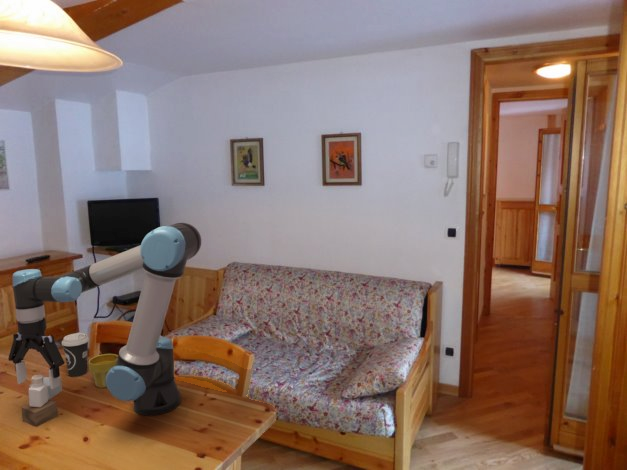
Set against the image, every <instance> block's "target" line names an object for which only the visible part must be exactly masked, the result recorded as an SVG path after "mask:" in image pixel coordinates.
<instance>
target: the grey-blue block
mask: <svg viewBox="0 0 627 470" xmlns="http://www.w3.org/2000/svg"><path fill="white" fill-rule="evenodd" d="M43 380H44V381H43V383H44V384H47V388H48V399H49V400H52V399H53V398H54V397H55V396H57V395H58V394H59V393H60V392H62V391H63V387H62V386H63V385H62V377H61V376H59V381H60V385H59V386H58V387H56V388H54V389H51V387H50V377H49V376H43ZM31 386H32V383H31V384H30V385H28V389H29V388H30V387H31Z"/></svg>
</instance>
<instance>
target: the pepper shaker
mask: <svg viewBox="0 0 627 470" xmlns="http://www.w3.org/2000/svg"><path fill="white" fill-rule="evenodd" d="M43 377H44V374H34V375H33V376H32V377H31V384H32V386H31V387H30V388H29V387H28V404H29V405H30V406H31V407H42V406H43V405H44V404H45V403H47V402H48V388H47V384H44V383H43V381H44V380H43Z"/></svg>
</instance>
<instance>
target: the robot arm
mask: <svg viewBox="0 0 627 470" xmlns="http://www.w3.org/2000/svg"><path fill="white" fill-rule="evenodd" d="M201 247H202V237H201V233H200V232H199V230H198V229H197V228H196V227H195V226H193V224H189V223H187V222H177V223H173V224H170V225H163V226H159V227H157V228H155V229H152V230H151V231H150V232H148V233H147V234H146V235H145V236H144V238H143V239H142V241H141V243H140V245H138V246H135V247H132V248H130V249H128V250H126V251H125V250H124V251H122V252H120V253H117V254H115V255H112V256H110V257H107V258H105V259H103V260H100V261H97V262H95V263H92V264H90V265H86V266H84V267H82V268H79V269H76V270H74V271H70V272H67V273H64V274H62V275H58V276H43V275H42V273H41V270H40V269H37V268H36V269H35V268H30V269H29V268H28V269H22V270H17V271H15V272H14V273H13V274H12V287H11V288H12V290H13V296H14V297H13V298H14V303H15V317H16V321H18V322H17V323H16V324H17V332H16V333H13V336H12V338H13V341H12V343H11V346H10V347H11V348H10V352H9V353H8V359H7V360H8V361H9V362H12V363H13V364H14V369H15V373H16V380H17V384H18V385H19V384H22V383H25V382H26V381H28V377H27V368H26V360H25V356H26V355H27V354H28V351H29V350H34V351H36V352H37V353H40V355H41V356H42V358H43V359H44V360H45V361H46V364H48V365H49V368H48V375H49V376H48V377H50V387H51V389H54V388H56V387H58V386H59V385H60V381H59V377H61V376H60V375H61V372H60V371H61V370H60V367H61V366H63V365H65V364H66V363H65V362H66V361H65V360H64V359H63V356H62V354H61V352H60V349H59V348H58V346H57V343H56V342H55V337H54V335H53V334H50V335H49V336H48V335H46V333H45V332H46V331H47V320H46V319H47V318H45V317H46V310H45V302H46V303H47V302H49V303H51V302H52V303H67V302H69V303H71V302H75V301H77V300H79V297H80V296H81V295H82V293H85V292H87V291H91V290H93V289H95V288H98V287H101V286H103V285H105V284H108V283H110V282H113V281H116V280H118V279H119V280H120V279H121V278H123V277H126V276H129V275H132V274H134V273H137V272H139V271H142V270H143V271H144V273H145V276H144V280H143V283H142V287H141V289H140V295H139V299H138V302H137V305H136V309H135V313H134V316H133V319H132V324H131V328H130V331H129V336H128V339H127V342H126V344H125V345H124V346H122V347H121V348H120V349H119V351H118V354H117V355H118V358H117V362H116V365H115V366H114V367H112V368H111V369H110V370H109V372H108V373H107V375H106V386H107V387H106V388H107V390H108V391H109V392H110V395H112V396H113V397H114V398H116V399H117V400H118V401H119V400H120V401H123V402H132V401H133V403H132V404H133V405H132V406H133V410H134V412H135V413H137V414H138V415H141V416H158V415H163V414H165V413H168V412H170V411H173V410H174V409H176V408H178V406H180V404H181V402H182V401H181V399H182V397H181V393H180V390H179V389H178V385H177V384H176V380H175V366H174V346H173V340H172V339H171V338H170V337H167V336H161V334H162V330H163V327H164V323H165V320H166V317H167V316H166V315H167V313H168V310H169V306H170V302H171V299H172V295H173V291H174V288H175V284H176V282H177V280H178V279H180V278H182V277H183V275H184V272H185V269H186V265H187V261H189V260H191V259H192V258H194V257H195V256H196V255H197V254H198V253H199V251H200V249H201Z"/></svg>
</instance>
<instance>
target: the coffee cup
mask: <svg viewBox="0 0 627 470" xmlns="http://www.w3.org/2000/svg"><path fill="white" fill-rule="evenodd" d="M89 341H90V339H89V336H88V335H87V333H83V332H76V333H70V334H68V335H65V336H64V337H63V340H61V345H62V347H63V353H64V357H65V362H66V363H65V364H66V368H67V373H68V377H69V378H70V377H71V378H77V377H78V378H79V377H81V376H84V375H86V374H87V373H88V355H89V354H88V349H89V348H88V347H89Z"/></svg>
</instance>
